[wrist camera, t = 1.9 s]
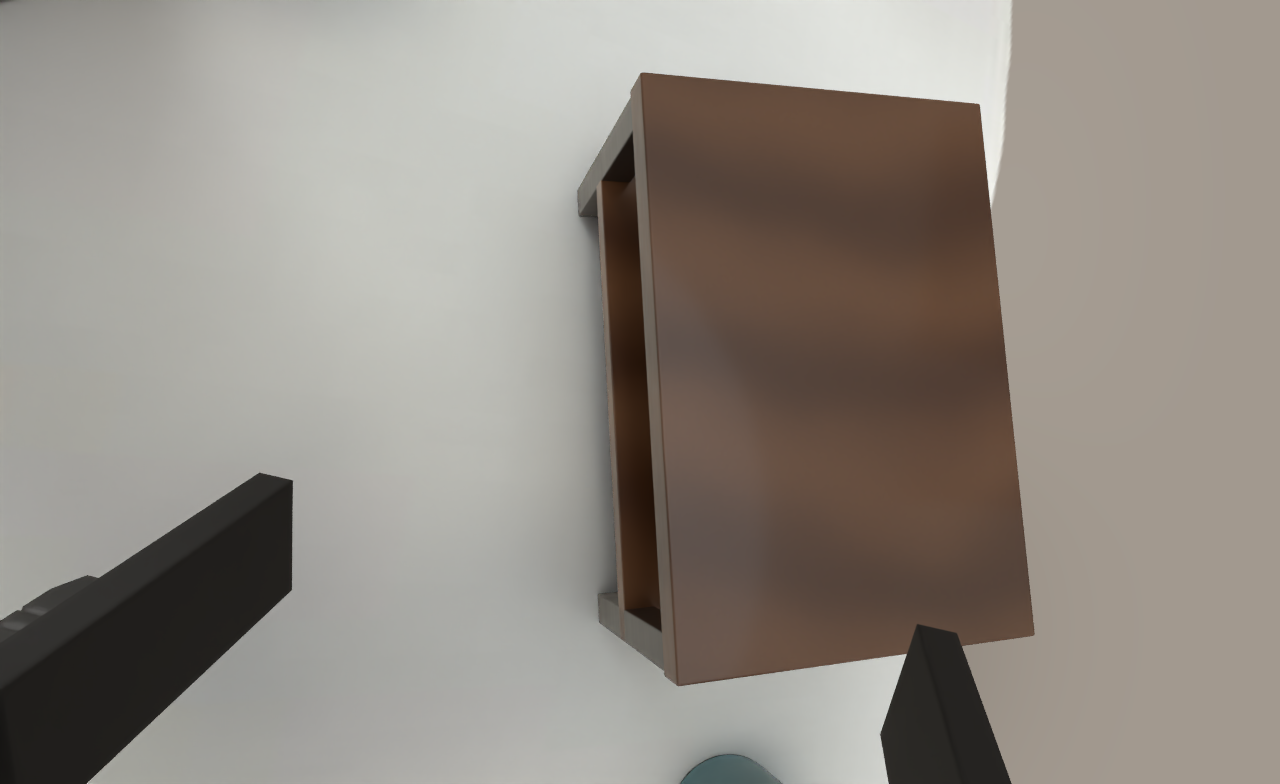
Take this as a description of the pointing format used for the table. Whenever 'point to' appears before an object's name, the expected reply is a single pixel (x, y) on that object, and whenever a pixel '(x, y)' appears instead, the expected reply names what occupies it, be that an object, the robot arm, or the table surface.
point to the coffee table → (802, 378)
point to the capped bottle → (729, 772)
